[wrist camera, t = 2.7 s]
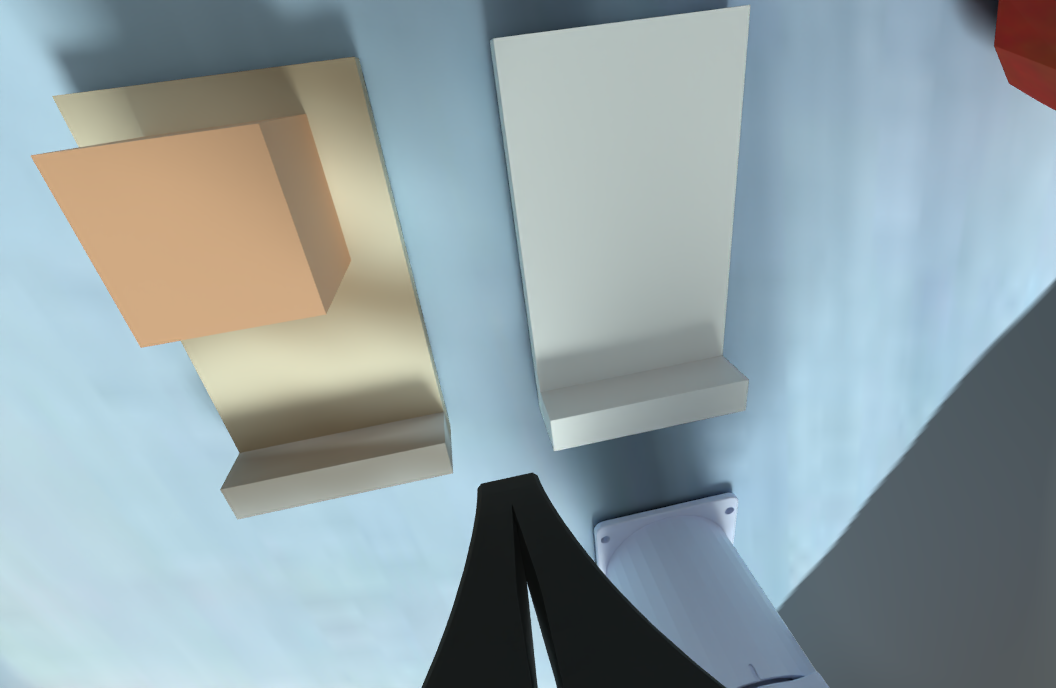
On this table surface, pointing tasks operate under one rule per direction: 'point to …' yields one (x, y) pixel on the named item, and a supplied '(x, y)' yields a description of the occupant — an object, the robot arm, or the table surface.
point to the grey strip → (626, 216)
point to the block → (205, 226)
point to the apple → (1028, 46)
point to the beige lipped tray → (316, 342)
